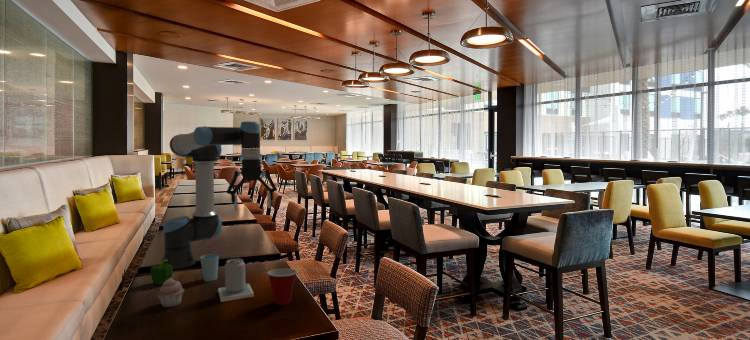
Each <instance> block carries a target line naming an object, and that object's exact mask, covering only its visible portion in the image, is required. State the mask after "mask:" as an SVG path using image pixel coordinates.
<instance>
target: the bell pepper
mask: <svg viewBox="0 0 750 340" xmlns="http://www.w3.org/2000/svg"><path fill="white" fill-rule="evenodd" d="M161 261H162V260H161ZM167 261H168V260H163V261H162V262H160V264H159V263H158V264H157V263H156V264H155V265H153V266H151V268H150V276H151V280H152V283H154V284H155V285H157V286H163V283H164V282H165V281H166V280H168V279H169V278H172V276H173V271H174V269H173V267H172V265H171V264H168V263H165V264H163V263H164V262H167Z"/></svg>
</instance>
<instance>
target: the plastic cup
mask: <svg viewBox="0 0 750 340" xmlns="http://www.w3.org/2000/svg"><path fill="white" fill-rule="evenodd" d="M297 273H298V270H296V269H293V268H274V269H271V270H268V271H267V275H268V277H269V282H270V286H271V292H272V296H273V300H274V304H275V305H276V306H287V305H290V304H291V303H292V297H293V291H294V284H295V279H296V276H297Z"/></svg>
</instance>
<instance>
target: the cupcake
mask: <svg viewBox="0 0 750 340" xmlns="http://www.w3.org/2000/svg"><path fill="white" fill-rule="evenodd" d="M184 293H185V288H183V286H182V284H181V283H180V281H178V280H174V279H173V278H172V277H171V278H169V279H168V280H166V281H165V282H164V283H163V285H160V288H159V291H157V294H156V296H157V297H158V299H159V301H160V304H161V306H162V307H163V308H173V307H176V306H179V305H181V303H182V300H183V299H182V297H183V294H184Z"/></svg>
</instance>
